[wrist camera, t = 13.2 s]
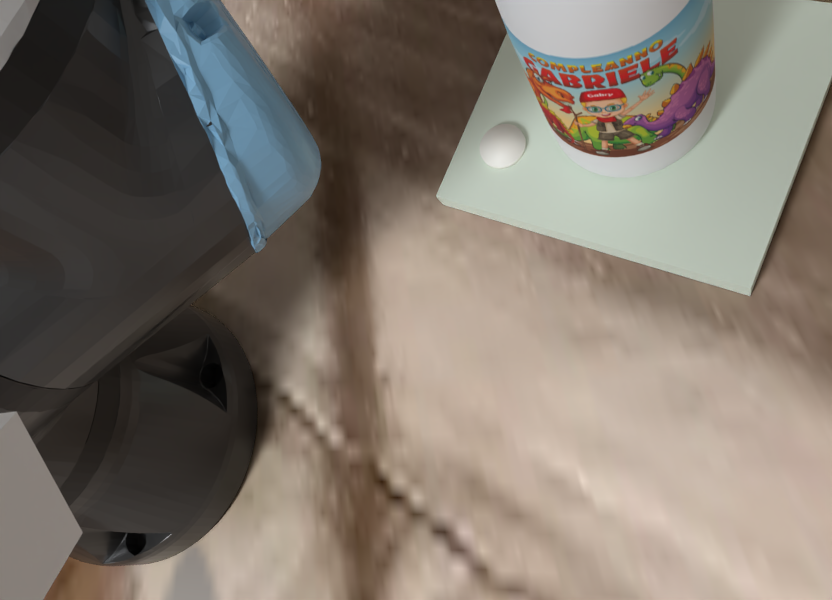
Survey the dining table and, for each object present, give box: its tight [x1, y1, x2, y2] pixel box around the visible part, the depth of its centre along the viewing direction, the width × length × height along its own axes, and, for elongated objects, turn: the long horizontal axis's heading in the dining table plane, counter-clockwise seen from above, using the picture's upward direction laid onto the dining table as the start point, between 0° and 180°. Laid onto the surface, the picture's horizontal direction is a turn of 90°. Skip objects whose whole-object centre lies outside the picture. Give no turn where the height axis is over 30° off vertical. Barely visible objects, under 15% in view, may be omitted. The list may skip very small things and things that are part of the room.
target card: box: [436, 0, 832, 296], centre depth 37 cm, size 16×14×2 cm
